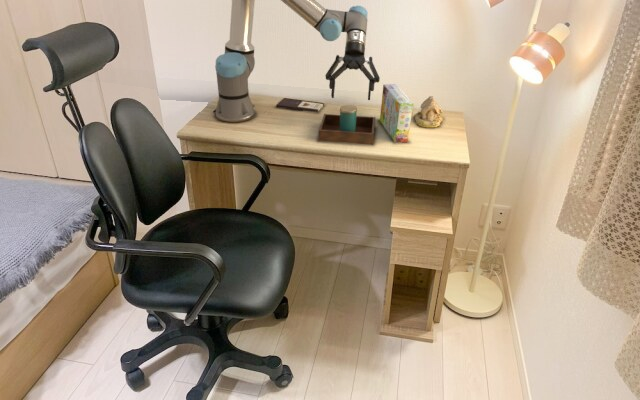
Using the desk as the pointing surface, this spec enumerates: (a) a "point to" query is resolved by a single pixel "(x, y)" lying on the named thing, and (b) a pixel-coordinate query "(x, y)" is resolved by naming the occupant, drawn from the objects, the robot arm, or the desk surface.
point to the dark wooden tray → (361, 136)
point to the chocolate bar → (300, 105)
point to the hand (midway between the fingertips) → (350, 97)
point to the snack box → (396, 112)
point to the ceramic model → (429, 114)
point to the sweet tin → (348, 118)
